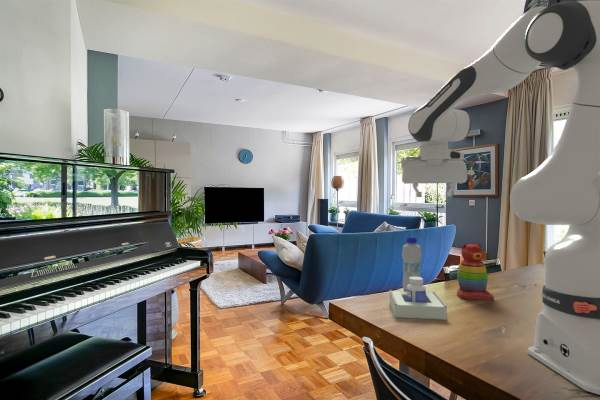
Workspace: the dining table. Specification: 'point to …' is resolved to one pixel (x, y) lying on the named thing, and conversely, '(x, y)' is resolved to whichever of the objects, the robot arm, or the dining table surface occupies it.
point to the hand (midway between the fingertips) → (433, 197)
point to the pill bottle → (416, 290)
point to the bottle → (411, 261)
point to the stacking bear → (472, 274)
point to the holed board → (418, 306)
